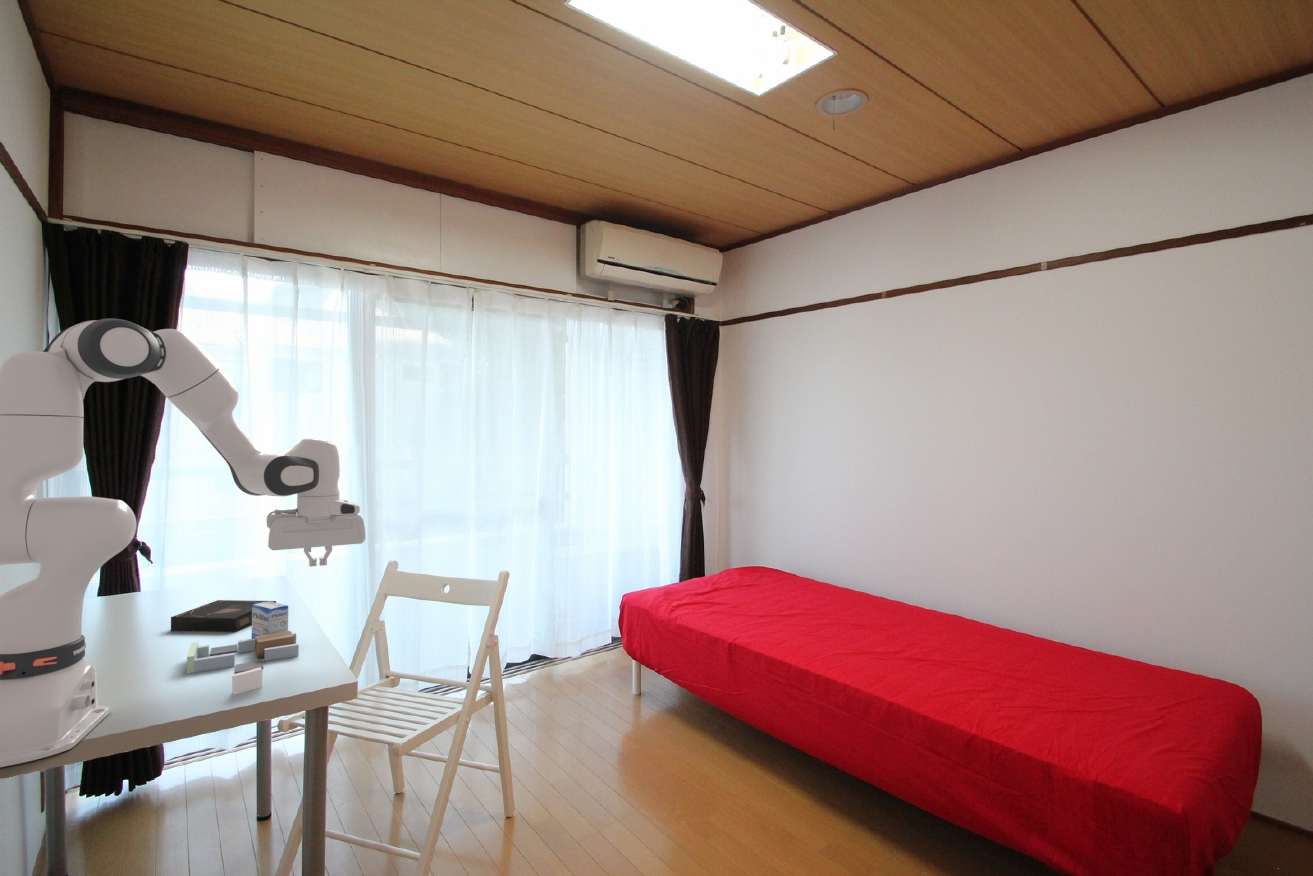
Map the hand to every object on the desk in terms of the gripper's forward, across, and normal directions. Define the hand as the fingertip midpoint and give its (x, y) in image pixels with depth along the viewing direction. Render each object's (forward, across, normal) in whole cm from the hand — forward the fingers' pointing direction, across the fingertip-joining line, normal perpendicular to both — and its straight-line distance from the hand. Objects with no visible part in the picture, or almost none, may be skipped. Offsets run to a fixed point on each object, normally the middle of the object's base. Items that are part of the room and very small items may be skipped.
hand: (318, 565), depth 147 cm
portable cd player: (+20, -19, +34) cm, 44 cm away
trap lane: (+19, -14, 0) cm, 24 cm away
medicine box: (+19, -9, +11) cm, 24 cm away
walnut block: (+19, -9, 0) cm, 21 cm away
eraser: (+19, -14, -21) cm, 32 cm away
